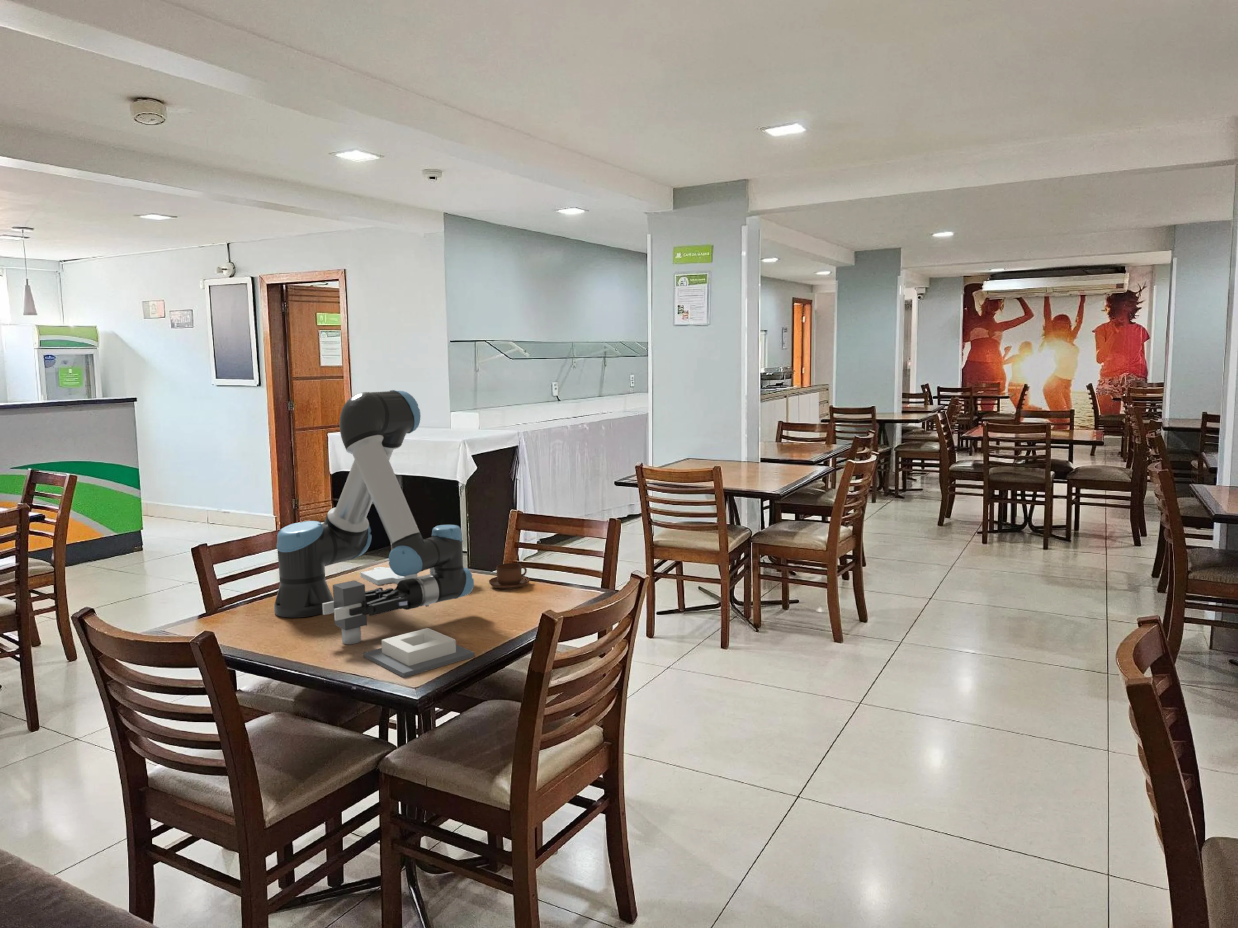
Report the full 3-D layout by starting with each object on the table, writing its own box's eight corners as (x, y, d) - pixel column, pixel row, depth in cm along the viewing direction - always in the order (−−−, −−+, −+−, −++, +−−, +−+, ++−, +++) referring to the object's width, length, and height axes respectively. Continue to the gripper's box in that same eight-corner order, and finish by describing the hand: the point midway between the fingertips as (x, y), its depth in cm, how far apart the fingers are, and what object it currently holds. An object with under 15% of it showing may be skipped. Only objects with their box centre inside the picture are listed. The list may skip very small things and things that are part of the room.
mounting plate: (357, 576, 269) (357, 570, 269) (396, 569, 277) (396, 563, 277) (380, 588, 255) (380, 581, 255) (421, 580, 263) (420, 574, 263)
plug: (335, 641, 206) (332, 584, 204) (357, 635, 210) (354, 580, 208) (346, 646, 202) (343, 589, 201) (367, 641, 206) (364, 584, 204)
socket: (363, 656, 195) (362, 639, 195) (432, 638, 208) (432, 622, 207) (403, 677, 182) (402, 659, 182) (474, 656, 195) (474, 639, 194)
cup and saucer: (505, 579, 262) (505, 559, 261) (537, 584, 256) (537, 563, 255) (480, 588, 252) (480, 568, 251) (513, 593, 246) (512, 573, 245)
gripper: (436, 614, 211) (347, 636, 195) (398, 599, 224) (313, 618, 209) (435, 584, 210) (346, 604, 194) (397, 571, 224) (311, 588, 208)
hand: (329, 611), depth 202 cm, fingers closed on plug, 5 cm apart
